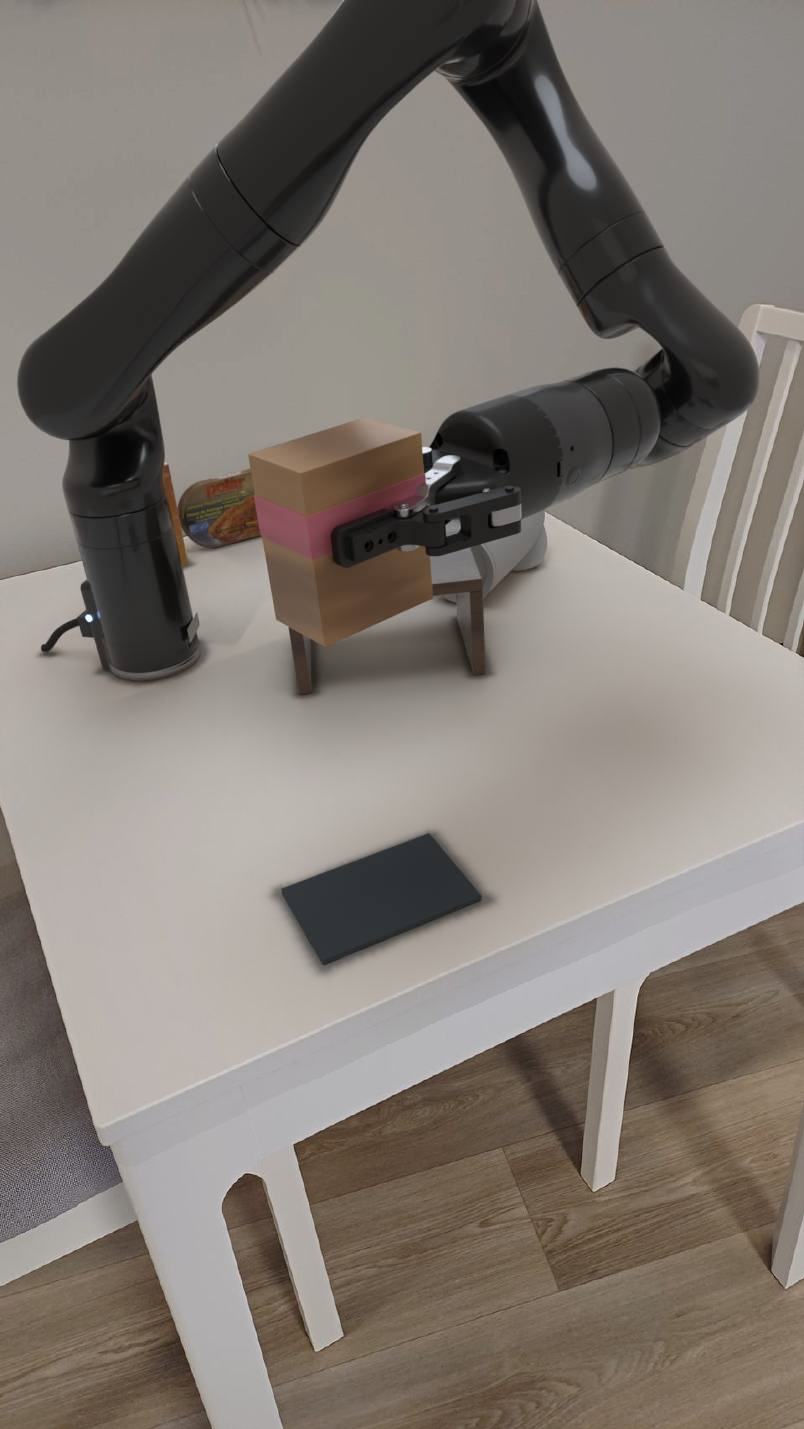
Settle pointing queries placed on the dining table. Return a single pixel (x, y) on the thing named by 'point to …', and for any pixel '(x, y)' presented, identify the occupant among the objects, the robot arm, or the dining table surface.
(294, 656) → the shelf
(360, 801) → the dining table surface
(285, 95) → the robot arm
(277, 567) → the block
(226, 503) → the tin
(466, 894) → the mat
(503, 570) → the bent grey cylinder
